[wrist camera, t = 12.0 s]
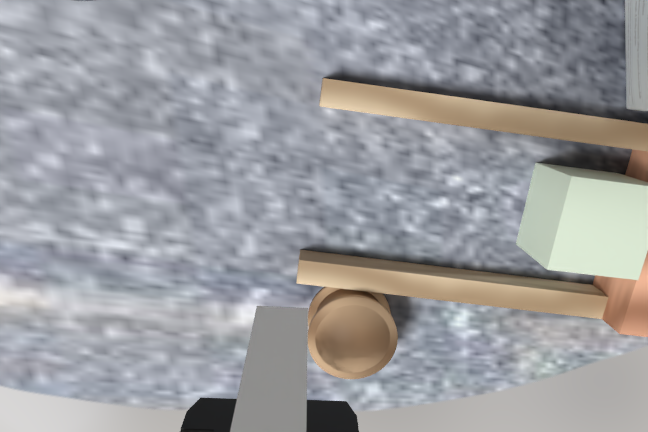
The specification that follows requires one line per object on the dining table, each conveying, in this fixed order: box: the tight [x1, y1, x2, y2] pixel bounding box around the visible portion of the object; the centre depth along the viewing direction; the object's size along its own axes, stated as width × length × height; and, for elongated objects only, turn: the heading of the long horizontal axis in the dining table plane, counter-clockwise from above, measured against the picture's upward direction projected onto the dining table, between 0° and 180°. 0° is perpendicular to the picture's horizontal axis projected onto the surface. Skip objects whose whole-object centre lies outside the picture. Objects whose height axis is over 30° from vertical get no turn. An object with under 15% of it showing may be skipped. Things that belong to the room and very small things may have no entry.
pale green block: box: [516, 163, 648, 280], centre depth 39 cm, size 7×7×6 cm
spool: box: [308, 287, 398, 379], centre depth 42 cm, size 7×7×4 cm
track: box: [297, 78, 648, 337], centre depth 39 cm, size 16×28×5 cm, turn 82°
